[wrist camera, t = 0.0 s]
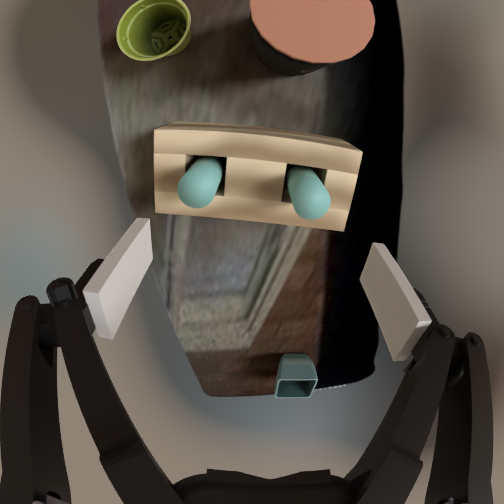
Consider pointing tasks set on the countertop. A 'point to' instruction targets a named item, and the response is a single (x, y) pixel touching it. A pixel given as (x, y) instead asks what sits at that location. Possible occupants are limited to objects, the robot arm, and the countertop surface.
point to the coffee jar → (309, 32)
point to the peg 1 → (200, 182)
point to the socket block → (254, 171)
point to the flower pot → (295, 377)
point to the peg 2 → (307, 192)
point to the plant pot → (154, 29)
